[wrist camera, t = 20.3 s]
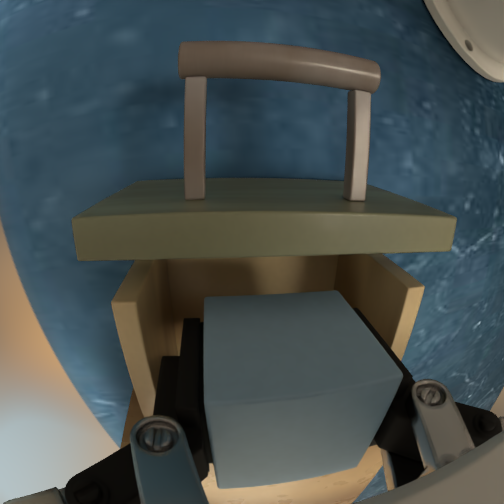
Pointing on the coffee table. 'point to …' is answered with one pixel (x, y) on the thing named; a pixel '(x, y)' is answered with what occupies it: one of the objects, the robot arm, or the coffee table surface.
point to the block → (291, 386)
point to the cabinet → (284, 494)
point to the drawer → (258, 221)
